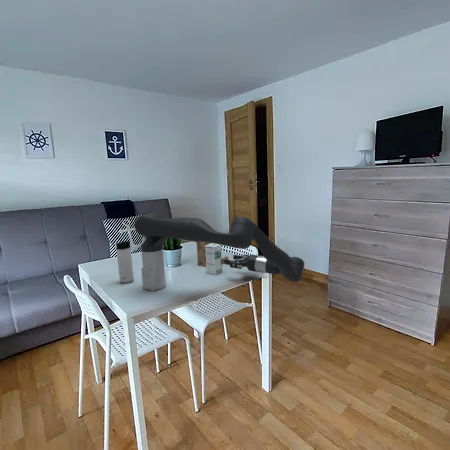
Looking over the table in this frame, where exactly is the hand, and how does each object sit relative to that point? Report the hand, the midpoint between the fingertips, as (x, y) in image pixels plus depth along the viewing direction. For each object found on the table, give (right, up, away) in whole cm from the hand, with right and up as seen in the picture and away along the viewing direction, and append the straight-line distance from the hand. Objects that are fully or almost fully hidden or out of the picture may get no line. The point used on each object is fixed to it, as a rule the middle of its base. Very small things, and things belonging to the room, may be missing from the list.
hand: (229, 259), depth 136 cm
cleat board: (-9, -5, +21) cm, 23 cm away
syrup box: (-7, -8, +6) cm, 12 cm away
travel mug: (-49, -11, -2) cm, 50 cm away
